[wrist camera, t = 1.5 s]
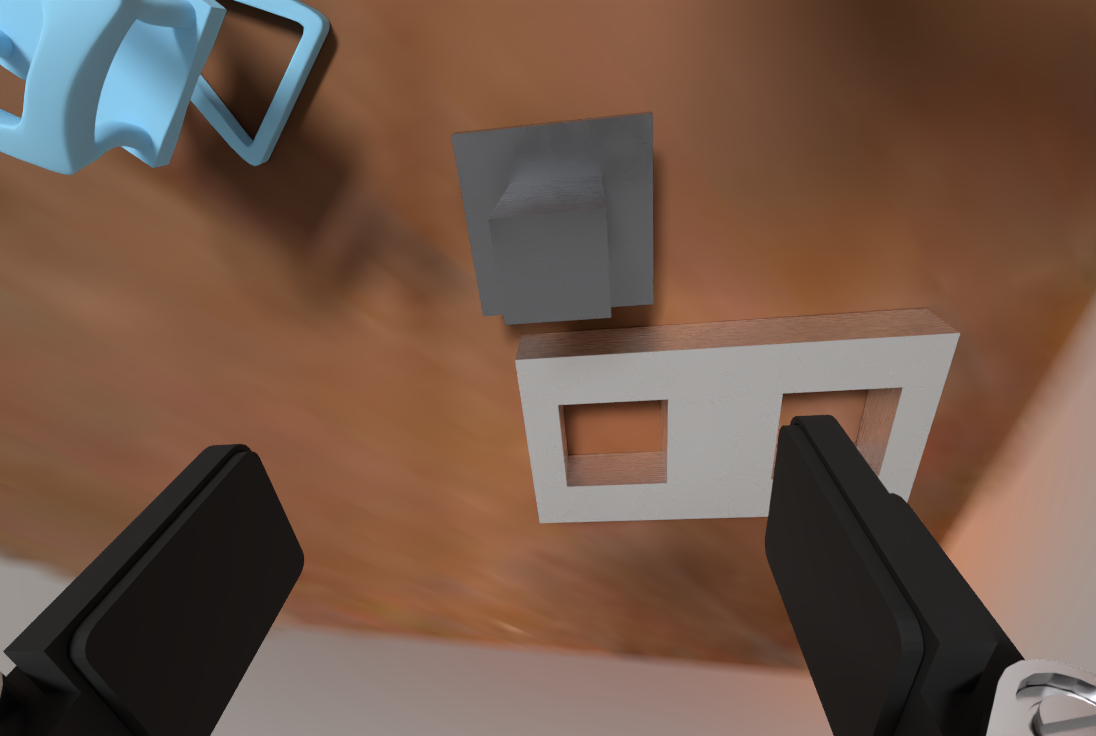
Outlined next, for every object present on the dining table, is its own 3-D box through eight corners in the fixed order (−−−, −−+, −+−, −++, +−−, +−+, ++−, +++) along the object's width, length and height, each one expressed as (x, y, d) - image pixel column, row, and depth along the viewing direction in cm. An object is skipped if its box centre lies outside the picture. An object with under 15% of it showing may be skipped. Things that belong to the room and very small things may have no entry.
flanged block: (466, 126, 25) (411, 156, 17) (644, 107, 25) (674, 129, 16) (493, 290, 30) (459, 377, 21) (646, 279, 29) (670, 365, 21)
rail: (521, 334, 31) (515, 360, 28) (926, 308, 29) (960, 332, 26) (543, 490, 37) (539, 523, 34) (880, 478, 34) (904, 512, 32)
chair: (151, -127, 21) (-261, -309, 11) (335, 23, 24) (134, -9, 13) (102, 48, 25) (-252, 37, 14) (266, 166, 27) (63, 230, 16)
